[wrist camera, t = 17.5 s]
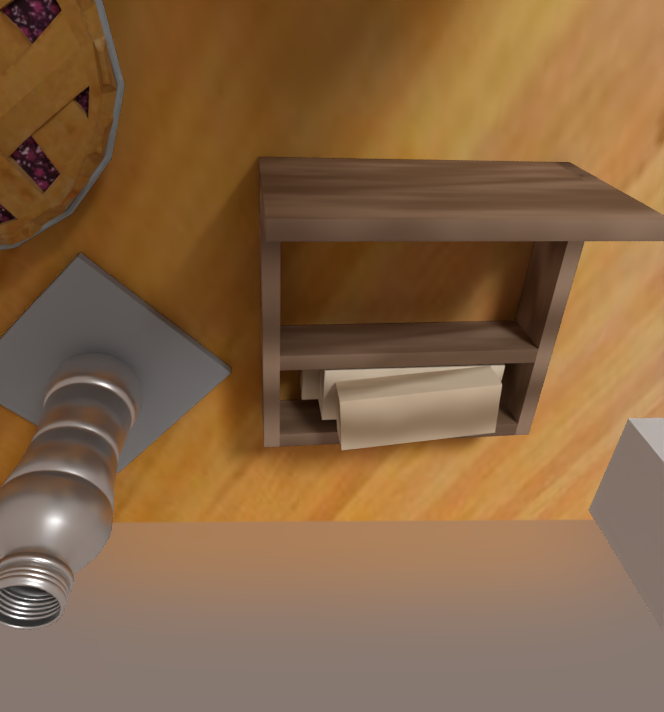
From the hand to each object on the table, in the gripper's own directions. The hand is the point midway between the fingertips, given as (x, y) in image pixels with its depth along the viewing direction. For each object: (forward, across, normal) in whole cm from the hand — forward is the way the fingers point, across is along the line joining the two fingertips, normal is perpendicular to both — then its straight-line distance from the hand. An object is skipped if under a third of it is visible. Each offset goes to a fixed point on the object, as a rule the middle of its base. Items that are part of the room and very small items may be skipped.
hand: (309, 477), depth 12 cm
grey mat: (+31, -13, -19) cm, 39 cm away
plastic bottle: (+30, -13, -19) cm, 38 cm away
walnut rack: (+32, +10, -13) cm, 36 cm away
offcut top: (+27, +11, -19) cm, 35 cm away
